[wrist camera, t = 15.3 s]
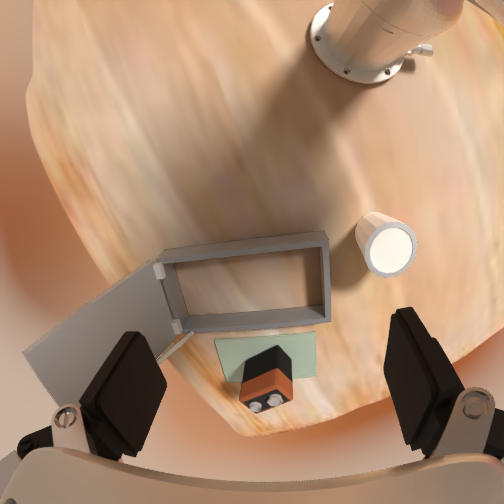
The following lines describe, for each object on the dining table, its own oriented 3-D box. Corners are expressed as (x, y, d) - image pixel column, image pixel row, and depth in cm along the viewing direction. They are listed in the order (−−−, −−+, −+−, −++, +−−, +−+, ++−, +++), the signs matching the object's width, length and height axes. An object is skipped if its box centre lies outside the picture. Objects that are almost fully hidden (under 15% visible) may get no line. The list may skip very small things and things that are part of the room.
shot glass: (404, 222, 35) (427, 239, 29) (379, 263, 38) (397, 286, 31) (366, 198, 34) (385, 210, 28) (340, 242, 37) (353, 263, 30)
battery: (292, 359, 44) (294, 405, 35) (259, 374, 46) (255, 419, 37) (277, 342, 43) (277, 389, 34) (243, 359, 45) (236, 405, 36)
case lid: (25, 355, 18) (21, 352, 18) (85, 436, 22) (80, 433, 22) (154, 260, 36) (148, 260, 36) (178, 335, 40) (172, 334, 40)
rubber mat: (315, 331, 42) (315, 332, 42) (316, 374, 46) (316, 376, 45) (214, 338, 44) (214, 340, 44) (227, 380, 48) (226, 382, 48)
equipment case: (323, 230, 36) (341, 264, 26) (327, 308, 41) (340, 358, 30) (157, 250, 40) (122, 286, 29) (178, 320, 44) (155, 366, 33)
